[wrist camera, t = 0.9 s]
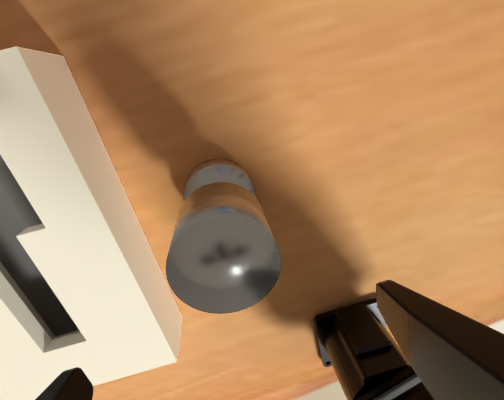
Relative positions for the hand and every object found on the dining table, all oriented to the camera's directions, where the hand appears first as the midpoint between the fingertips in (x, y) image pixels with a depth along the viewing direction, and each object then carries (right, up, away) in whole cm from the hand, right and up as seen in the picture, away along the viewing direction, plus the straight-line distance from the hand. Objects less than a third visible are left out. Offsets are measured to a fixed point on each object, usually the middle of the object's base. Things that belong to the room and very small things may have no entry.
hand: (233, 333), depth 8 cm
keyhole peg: (-2, +5, +11) cm, 12 cm away
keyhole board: (-13, +1, +11) cm, 17 cm away
